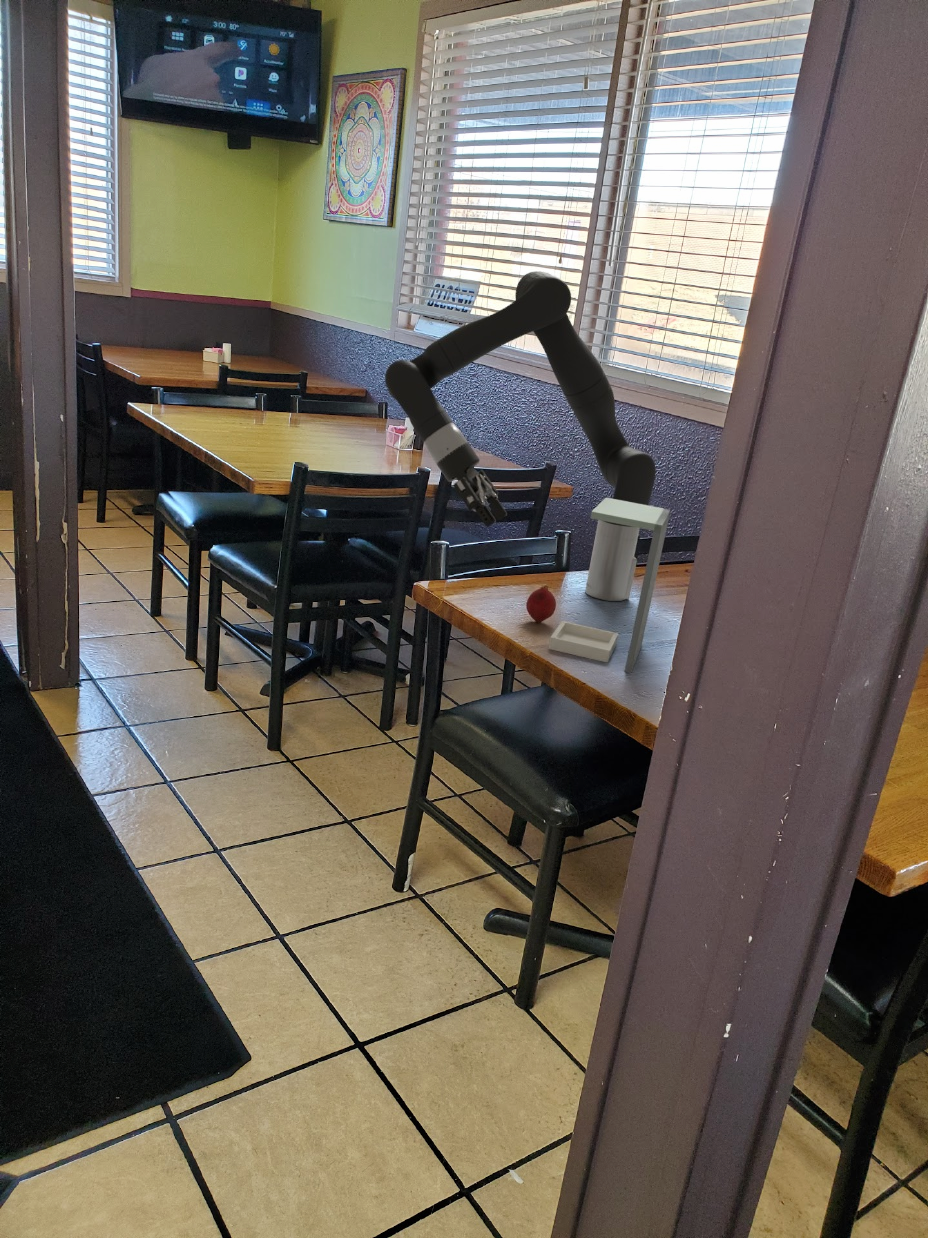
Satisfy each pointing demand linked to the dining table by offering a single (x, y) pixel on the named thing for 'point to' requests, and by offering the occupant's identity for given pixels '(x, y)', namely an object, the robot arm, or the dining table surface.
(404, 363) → the robot arm
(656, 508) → the inverted l bracket
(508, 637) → the dining table surface
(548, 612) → the onion
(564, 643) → the tray
